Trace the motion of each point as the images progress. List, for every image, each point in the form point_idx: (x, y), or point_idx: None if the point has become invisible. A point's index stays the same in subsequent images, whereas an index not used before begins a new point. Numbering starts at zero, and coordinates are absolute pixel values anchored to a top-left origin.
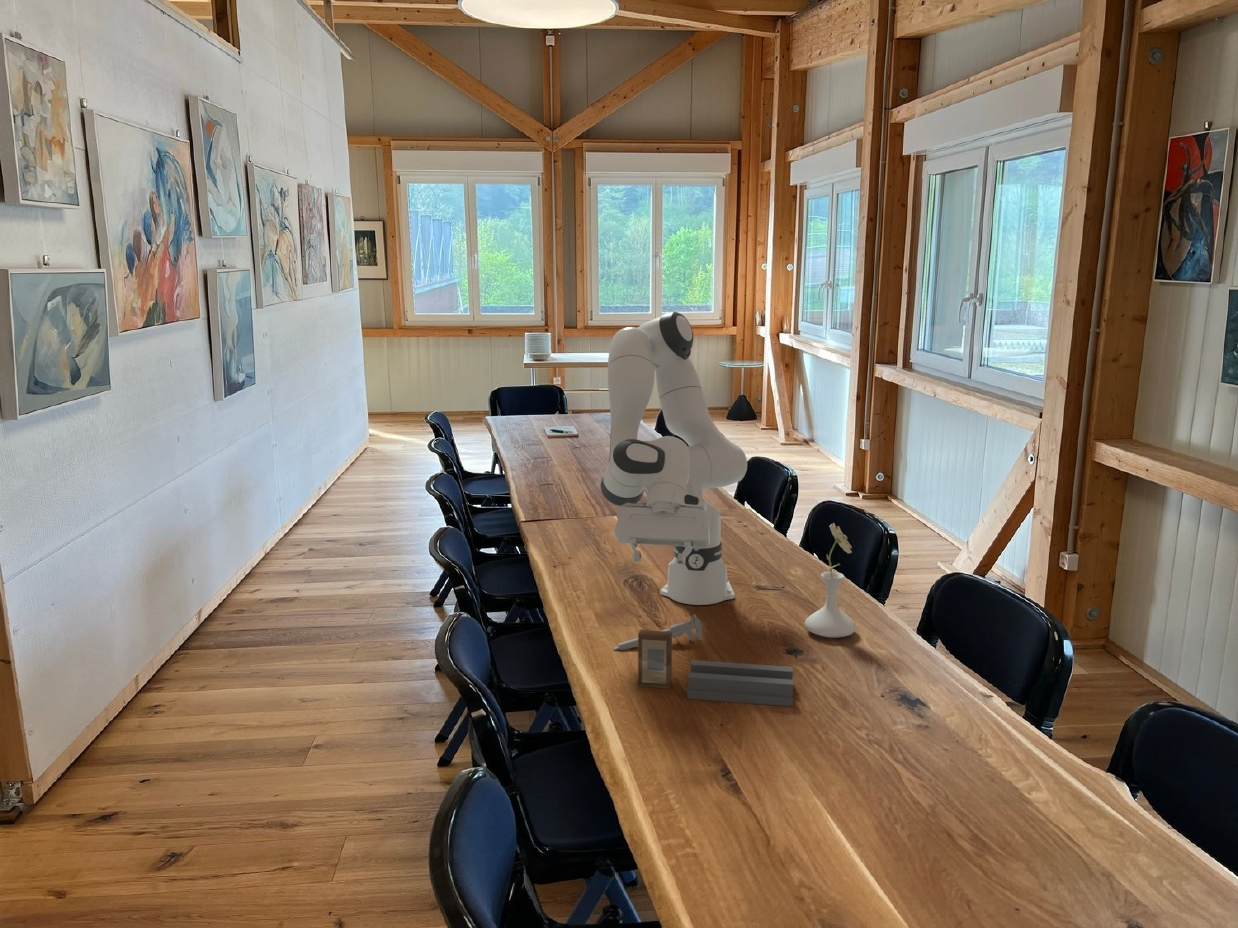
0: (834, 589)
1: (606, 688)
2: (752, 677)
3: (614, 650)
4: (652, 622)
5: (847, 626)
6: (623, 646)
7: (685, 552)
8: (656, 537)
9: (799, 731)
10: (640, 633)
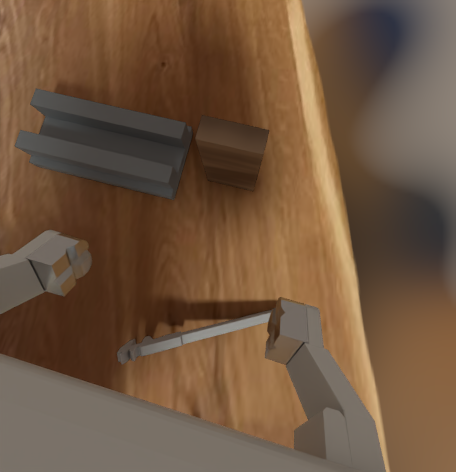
0: None
1: (303, 170)
2: (87, 115)
3: None
4: None
5: None
6: (271, 311)
7: (3, 257)
8: (139, 402)
9: (74, 44)
10: (264, 134)
